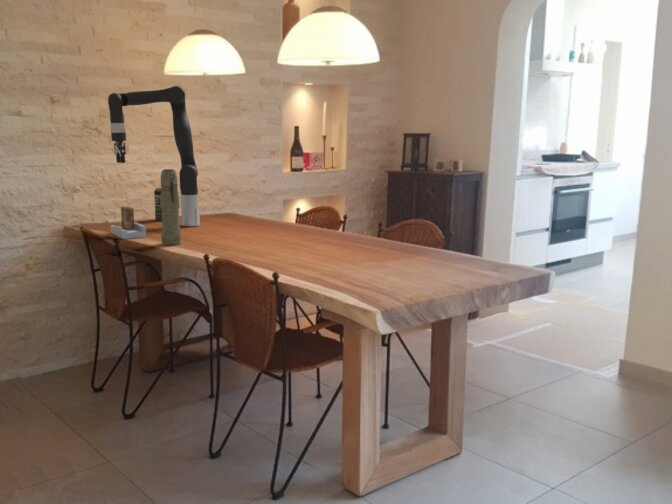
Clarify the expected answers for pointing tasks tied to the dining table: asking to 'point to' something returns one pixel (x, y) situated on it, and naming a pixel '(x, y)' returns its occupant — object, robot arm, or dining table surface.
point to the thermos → (170, 208)
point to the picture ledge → (129, 231)
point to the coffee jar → (158, 204)
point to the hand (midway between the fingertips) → (120, 162)
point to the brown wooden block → (127, 218)
